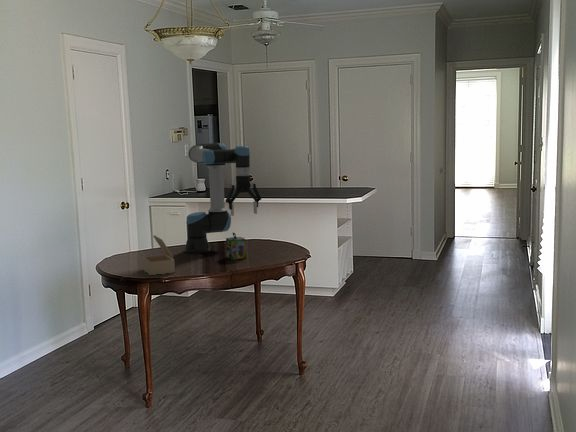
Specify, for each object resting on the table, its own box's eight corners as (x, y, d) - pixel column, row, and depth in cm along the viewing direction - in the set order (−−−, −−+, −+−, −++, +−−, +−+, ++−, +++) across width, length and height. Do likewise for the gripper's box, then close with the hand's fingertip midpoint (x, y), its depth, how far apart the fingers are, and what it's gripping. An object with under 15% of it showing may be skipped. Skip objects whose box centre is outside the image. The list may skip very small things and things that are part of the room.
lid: (153, 236, 333) (154, 235, 334) (164, 253, 337) (165, 252, 338) (160, 240, 321) (162, 239, 321) (172, 258, 325) (173, 257, 325)
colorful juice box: (246, 258, 357) (245, 233, 355) (231, 260, 353) (230, 234, 351) (241, 255, 365) (240, 230, 363) (226, 257, 362) (225, 231, 360)
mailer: (142, 270, 333) (142, 257, 332) (166, 267, 339) (166, 254, 338) (150, 275, 320) (149, 262, 319) (174, 272, 326) (174, 259, 325)
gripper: (224, 177, 325) (225, 217, 329) (266, 174, 337) (267, 213, 340) (218, 175, 332) (219, 215, 335) (260, 173, 343) (261, 211, 347)
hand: (243, 214), depth 338 cm, fingers open, 13 cm apart
